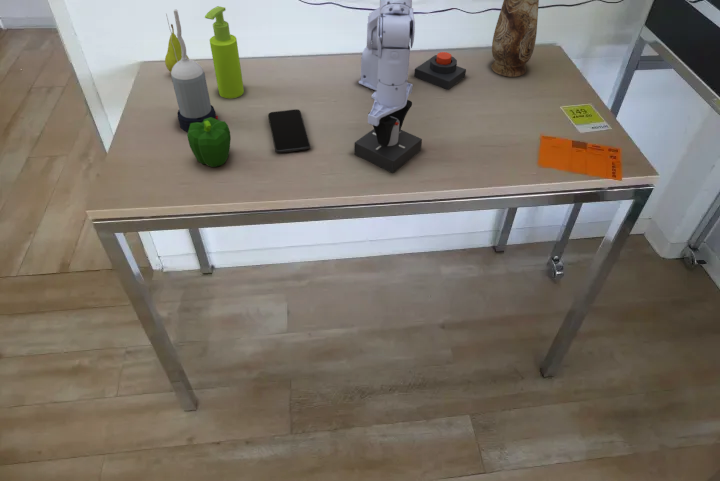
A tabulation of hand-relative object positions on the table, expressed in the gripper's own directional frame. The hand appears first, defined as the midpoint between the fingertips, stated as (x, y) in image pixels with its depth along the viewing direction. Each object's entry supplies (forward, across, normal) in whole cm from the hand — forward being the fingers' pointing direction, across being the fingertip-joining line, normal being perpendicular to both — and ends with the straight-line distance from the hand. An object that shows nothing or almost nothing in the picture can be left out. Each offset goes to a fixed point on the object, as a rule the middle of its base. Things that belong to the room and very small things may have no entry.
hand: (388, 138), depth 115 cm
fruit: (+4, -1, -59) cm, 60 cm away
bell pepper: (+4, +21, -29) cm, 36 cm away
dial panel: (+3, 0, 0) cm, 3 cm away
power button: (0, -36, -4) cm, 36 cm away
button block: (+3, -35, -4) cm, 35 cm away
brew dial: (0, 0, 0) cm, 0 cm away
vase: (+4, -48, +8) cm, 49 cm away
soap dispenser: (+4, -1, -43) cm, 43 cm away
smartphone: (+4, +5, -22) cm, 23 cm away
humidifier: (+4, +13, -41) cm, 43 cm away
